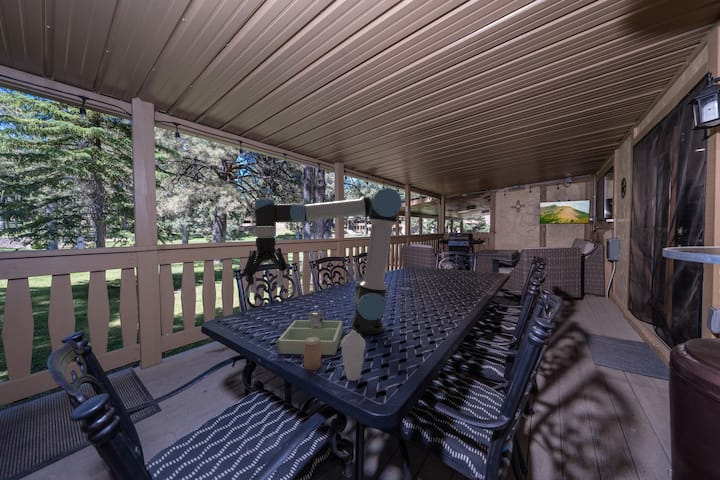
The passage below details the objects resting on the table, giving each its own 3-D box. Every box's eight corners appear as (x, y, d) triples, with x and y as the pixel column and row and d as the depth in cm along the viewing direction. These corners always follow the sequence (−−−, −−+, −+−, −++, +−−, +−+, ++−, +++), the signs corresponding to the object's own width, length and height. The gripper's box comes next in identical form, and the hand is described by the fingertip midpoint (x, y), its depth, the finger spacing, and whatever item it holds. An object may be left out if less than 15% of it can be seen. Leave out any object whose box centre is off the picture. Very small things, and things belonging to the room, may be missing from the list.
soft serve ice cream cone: (340, 370, 92) (339, 324, 91) (364, 369, 92) (364, 323, 92) (340, 385, 83) (340, 334, 82) (367, 383, 84) (367, 333, 83)
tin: (324, 333, 121) (324, 310, 121) (321, 338, 115) (321, 315, 115) (311, 332, 122) (310, 310, 121) (307, 338, 116) (307, 315, 115)
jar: (322, 361, 98) (322, 336, 98) (319, 370, 92) (318, 344, 92) (306, 361, 99) (306, 336, 98) (302, 369, 93) (301, 343, 92)
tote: (342, 333, 123) (342, 320, 122) (335, 357, 101) (334, 341, 101) (295, 332, 124) (295, 320, 124) (277, 356, 102) (277, 340, 102)
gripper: (282, 235, 122) (284, 282, 123) (231, 238, 101) (233, 294, 102) (294, 235, 118) (296, 283, 119) (244, 239, 97) (246, 297, 98)
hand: (267, 289), depth 111 cm, fingers open, 13 cm apart
